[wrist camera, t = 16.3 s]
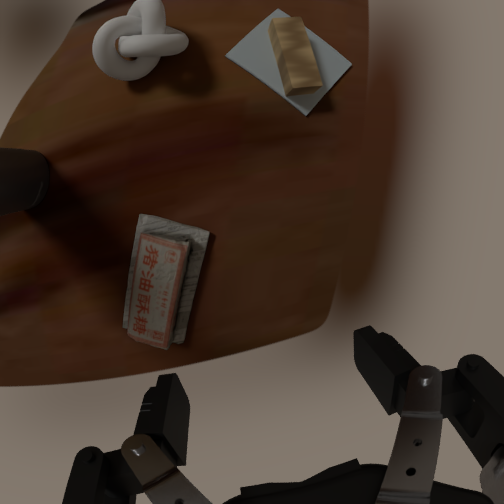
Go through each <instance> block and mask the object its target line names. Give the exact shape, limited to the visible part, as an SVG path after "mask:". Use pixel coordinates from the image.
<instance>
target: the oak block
mask: <svg viewBox="0 0 504 504" xmlns="http://www.w3.org/2000/svg"><path fill="white" fill-rule="evenodd" d="M268 35H269V38H270V41H271V45H272V48H273V52H274V55H275V59H276V62H277V66H278V69H279V73H280V77H281V81H282V84H283V88H284V92H285V96H295V95H304V94H313V93H315V92H316V91H317V90H318V89H319V88H321V87H322V86H323V84H322V81H321V77H320V74H319V70H318V67H317V64H316V60H315V57H314V54H313V51H312V47H311V44H310V41H309V38H308V35H307V32H306V29H305V26H304V24H303V21H302V18H301V17H282V18H272V20H271V22H270V25H269V28H268Z"/></svg>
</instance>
